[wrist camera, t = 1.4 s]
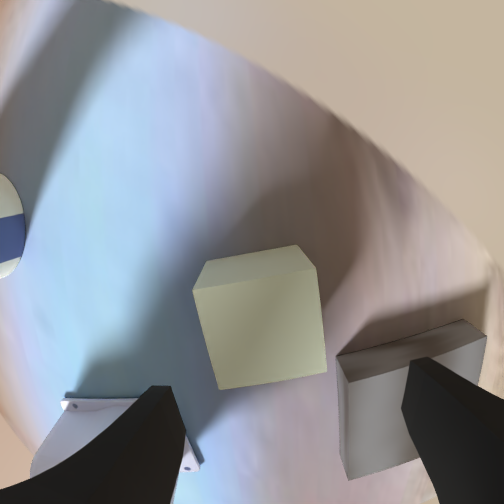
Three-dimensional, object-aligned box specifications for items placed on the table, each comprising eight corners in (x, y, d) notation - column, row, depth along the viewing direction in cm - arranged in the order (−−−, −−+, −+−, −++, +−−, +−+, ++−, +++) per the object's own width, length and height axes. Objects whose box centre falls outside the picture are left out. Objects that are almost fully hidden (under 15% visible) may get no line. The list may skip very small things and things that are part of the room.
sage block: (225, 340, 19) (219, 390, 14) (206, 260, 17) (192, 290, 13) (308, 326, 18) (327, 371, 14) (296, 244, 17) (316, 268, 12)
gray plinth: (339, 454, 21) (348, 480, 18) (335, 356, 19) (348, 383, 16) (446, 418, 21) (462, 438, 18) (463, 319, 19) (487, 336, 16)
